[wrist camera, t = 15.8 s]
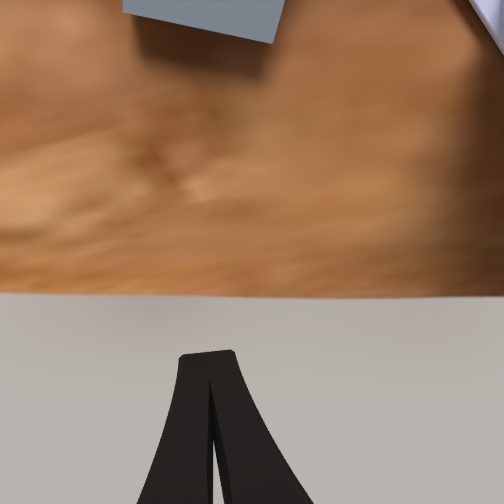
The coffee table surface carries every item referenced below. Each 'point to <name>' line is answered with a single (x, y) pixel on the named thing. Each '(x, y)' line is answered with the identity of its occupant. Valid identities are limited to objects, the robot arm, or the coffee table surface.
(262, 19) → the domino
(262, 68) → the coffee table surface
